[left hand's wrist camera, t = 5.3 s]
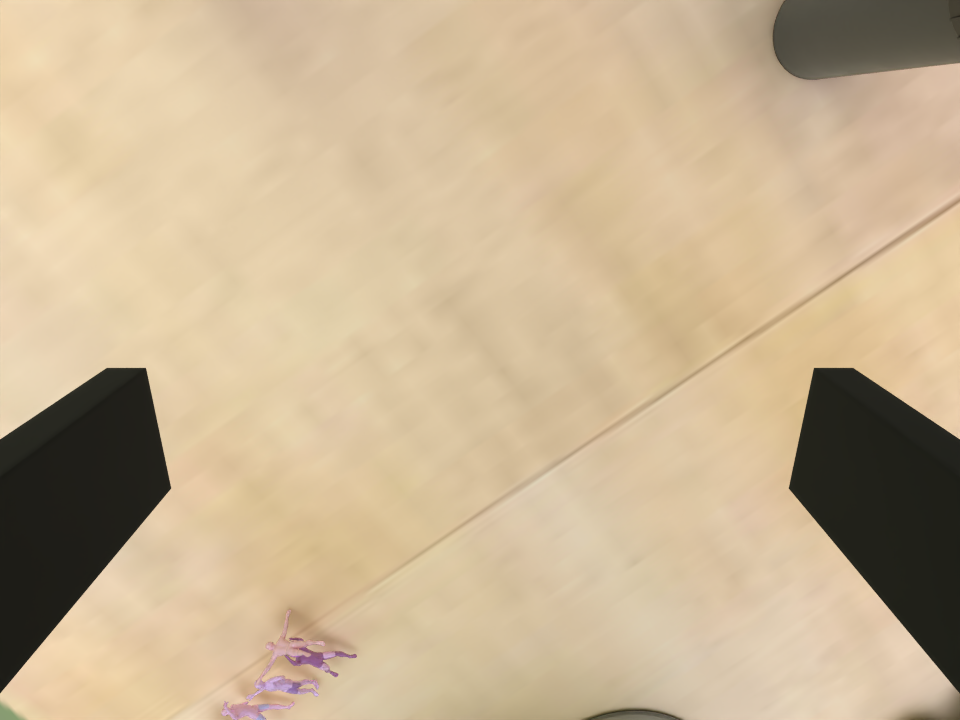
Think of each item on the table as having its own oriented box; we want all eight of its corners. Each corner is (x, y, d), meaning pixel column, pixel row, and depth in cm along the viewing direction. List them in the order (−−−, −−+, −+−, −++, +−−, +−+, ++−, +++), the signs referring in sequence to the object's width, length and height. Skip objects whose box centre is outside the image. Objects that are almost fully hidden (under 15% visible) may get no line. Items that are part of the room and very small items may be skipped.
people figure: (243, 784, 52) (158, 774, 48) (246, 713, 57) (168, 698, 52) (391, 673, 48) (312, 650, 44) (382, 606, 52) (309, 580, 48)
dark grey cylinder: (814, 99, 36) (1042, 87, 21) (753, 35, 35) (950, -24, 20) (887, 21, 35) (1186, -51, 20) (826, -49, 33) (1097, -179, 19)
